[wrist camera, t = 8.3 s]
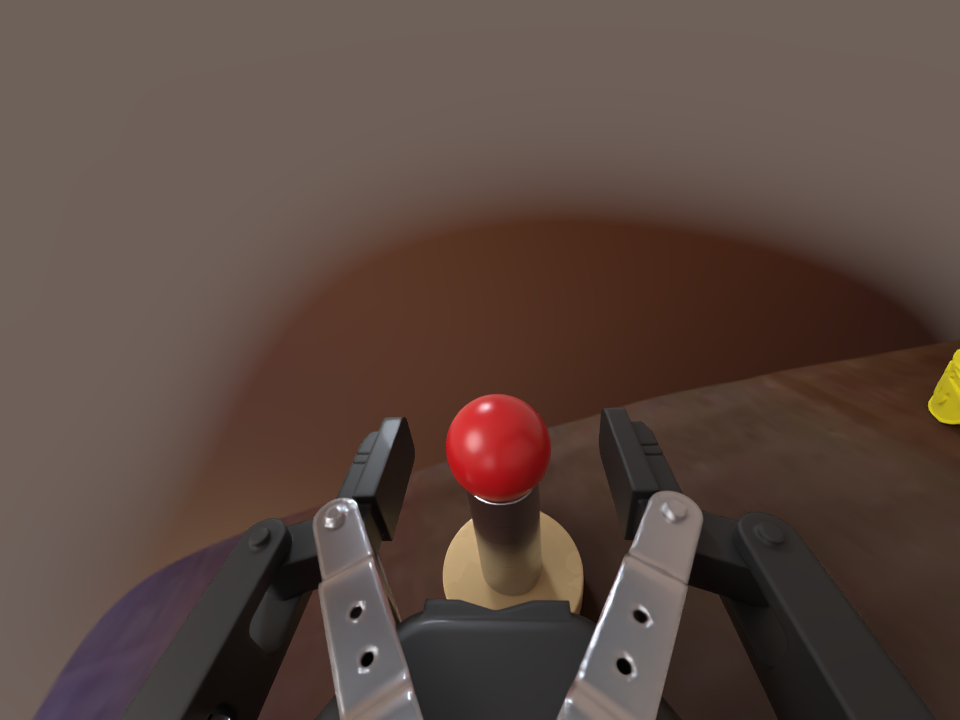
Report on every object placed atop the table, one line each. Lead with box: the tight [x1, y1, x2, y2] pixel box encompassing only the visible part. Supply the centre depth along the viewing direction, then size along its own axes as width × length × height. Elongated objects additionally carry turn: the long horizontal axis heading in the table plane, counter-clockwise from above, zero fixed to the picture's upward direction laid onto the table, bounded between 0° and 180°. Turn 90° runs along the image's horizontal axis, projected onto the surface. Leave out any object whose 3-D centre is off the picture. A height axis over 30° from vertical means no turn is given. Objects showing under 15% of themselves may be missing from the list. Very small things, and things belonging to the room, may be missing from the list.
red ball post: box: [443, 394, 584, 614], centre depth 13 cm, size 6×6×9 cm
